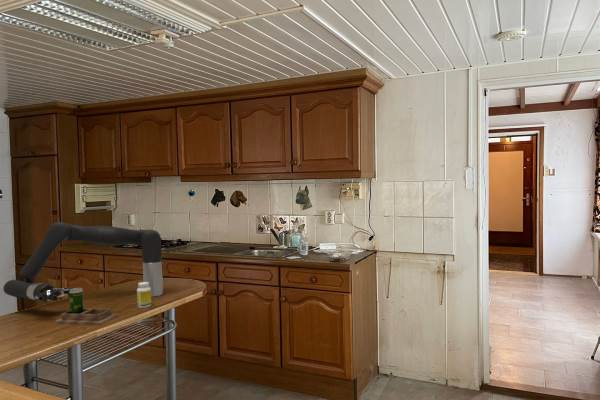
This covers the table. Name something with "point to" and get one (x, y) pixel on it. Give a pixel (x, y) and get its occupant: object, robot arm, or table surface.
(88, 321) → the rack
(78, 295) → the beer can
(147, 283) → the pill bottle
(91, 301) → the table surface
